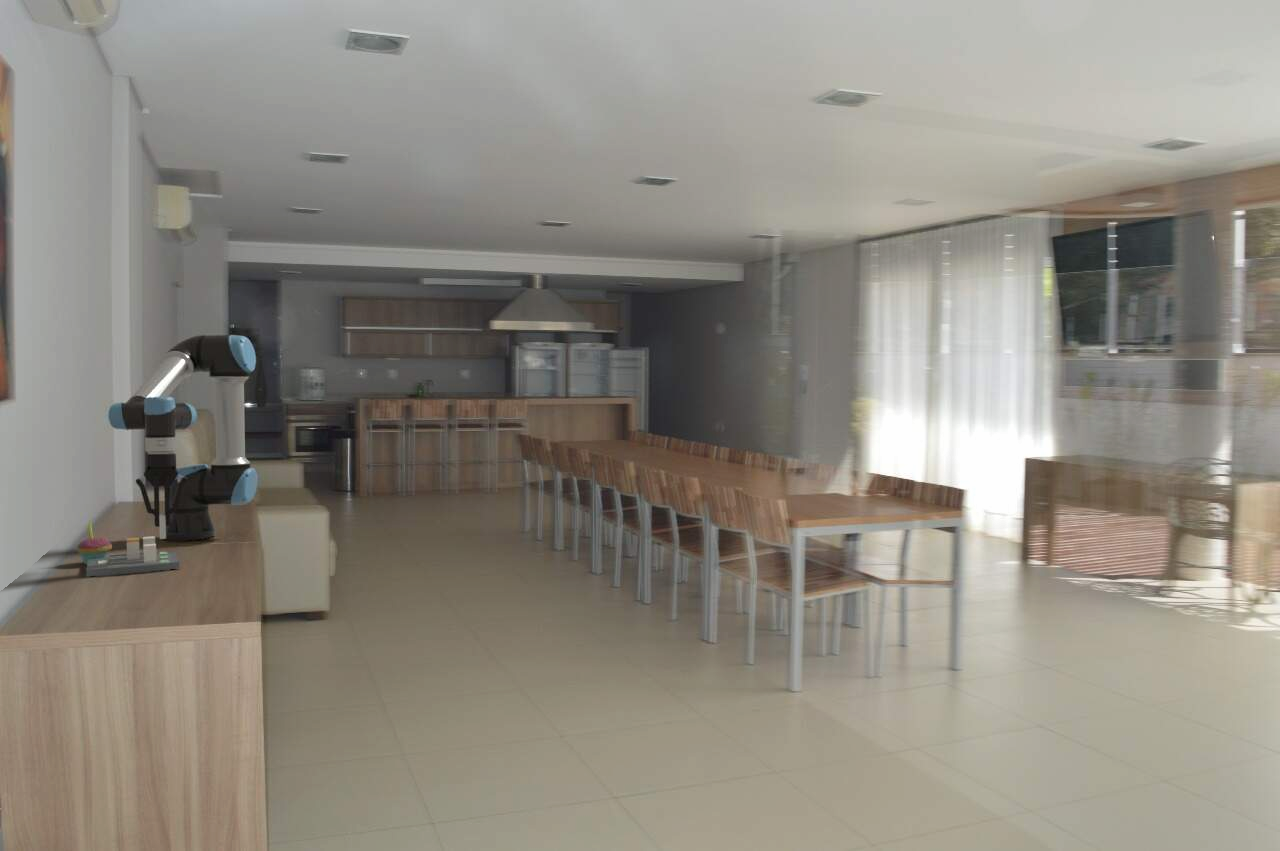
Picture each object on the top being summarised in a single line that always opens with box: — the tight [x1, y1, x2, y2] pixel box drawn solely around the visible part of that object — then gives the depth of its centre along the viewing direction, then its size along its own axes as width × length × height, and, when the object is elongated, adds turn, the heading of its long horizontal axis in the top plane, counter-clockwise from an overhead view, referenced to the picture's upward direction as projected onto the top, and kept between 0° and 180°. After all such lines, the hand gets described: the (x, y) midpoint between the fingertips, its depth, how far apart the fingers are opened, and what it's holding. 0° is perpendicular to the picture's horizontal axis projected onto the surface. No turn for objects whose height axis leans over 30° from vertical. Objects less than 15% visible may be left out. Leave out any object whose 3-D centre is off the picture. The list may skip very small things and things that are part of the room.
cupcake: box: [76, 520, 113, 565], centre depth 274 cm, size 9×8×12 cm
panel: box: [85, 535, 180, 578], centre depth 268 cm, size 18×22×7 cm
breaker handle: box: [126, 537, 141, 560], centre depth 268 cm, size 3×3×6 cm
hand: (162, 538), depth 271 cm, fingers closed
